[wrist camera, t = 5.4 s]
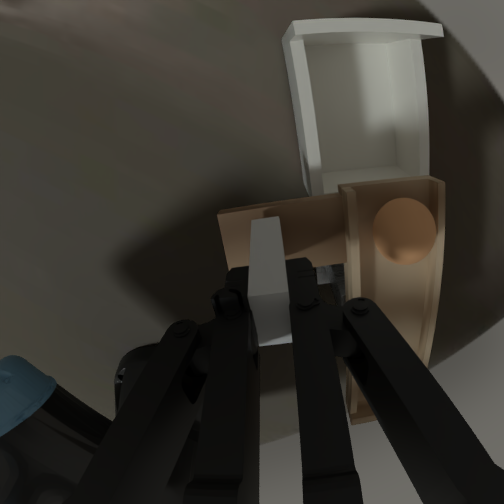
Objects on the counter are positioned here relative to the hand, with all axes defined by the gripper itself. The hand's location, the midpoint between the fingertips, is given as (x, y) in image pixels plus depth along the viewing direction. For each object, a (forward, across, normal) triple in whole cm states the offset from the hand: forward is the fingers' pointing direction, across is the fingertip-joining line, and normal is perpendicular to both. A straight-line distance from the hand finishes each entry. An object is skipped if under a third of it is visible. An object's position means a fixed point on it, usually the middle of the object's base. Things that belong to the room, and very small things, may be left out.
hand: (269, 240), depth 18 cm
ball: (-1, +7, 0) cm, 8 cm away
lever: (+2, +4, -7) cm, 9 cm away
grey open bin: (+9, +7, +6) cm, 13 cm away
